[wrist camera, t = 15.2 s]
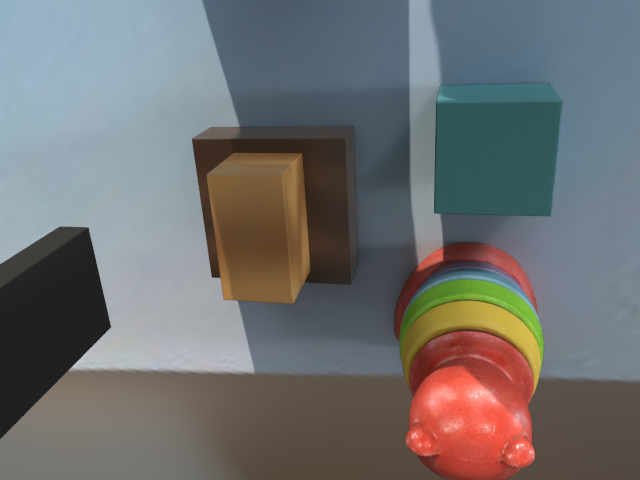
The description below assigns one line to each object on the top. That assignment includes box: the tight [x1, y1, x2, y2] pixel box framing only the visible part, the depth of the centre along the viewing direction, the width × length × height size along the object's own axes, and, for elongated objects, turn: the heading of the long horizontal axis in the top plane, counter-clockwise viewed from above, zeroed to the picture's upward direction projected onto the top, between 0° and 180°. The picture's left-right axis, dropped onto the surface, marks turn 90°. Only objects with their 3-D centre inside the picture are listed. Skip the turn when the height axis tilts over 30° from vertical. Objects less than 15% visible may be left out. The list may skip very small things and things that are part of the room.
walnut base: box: [192, 126, 359, 285], centre depth 45 cm, size 11×11×4 cm
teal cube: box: [434, 83, 563, 216], centre depth 39 cm, size 7×7×6 cm
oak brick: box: [207, 153, 310, 304], centre depth 41 cm, size 9×5×5 cm, turn 4°
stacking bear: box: [394, 243, 544, 480], centre depth 39 cm, size 11×10×18 cm
